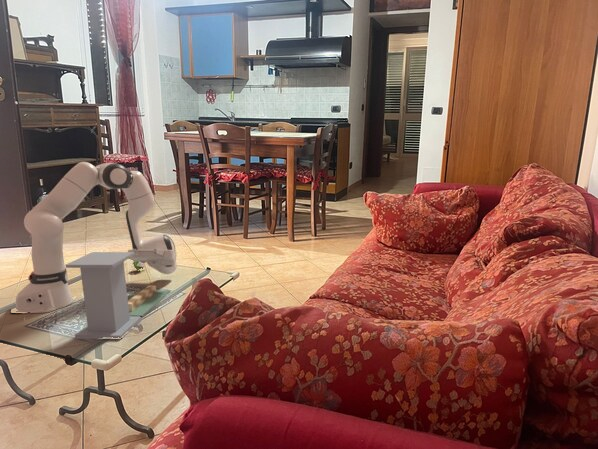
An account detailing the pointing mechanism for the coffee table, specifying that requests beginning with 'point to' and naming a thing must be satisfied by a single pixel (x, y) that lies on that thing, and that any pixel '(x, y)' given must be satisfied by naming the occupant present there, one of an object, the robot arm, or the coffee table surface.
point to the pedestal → (105, 295)
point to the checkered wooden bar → (141, 297)
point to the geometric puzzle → (138, 265)
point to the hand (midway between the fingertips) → (144, 250)
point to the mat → (148, 302)
